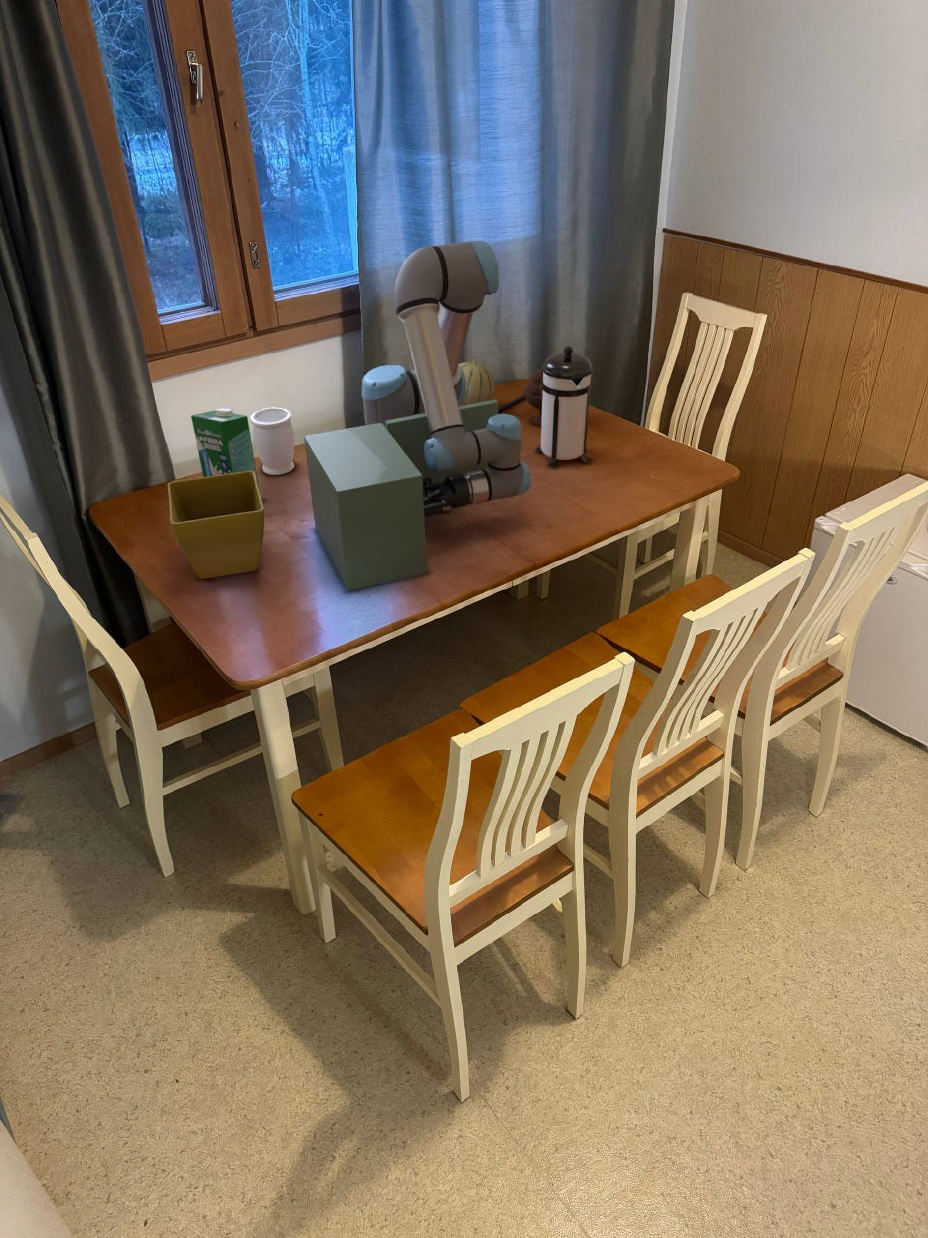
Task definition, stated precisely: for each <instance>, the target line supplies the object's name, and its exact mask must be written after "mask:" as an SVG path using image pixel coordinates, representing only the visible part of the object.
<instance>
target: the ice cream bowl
mask: <svg viewBox="0 0 928 1238" xmlns="http://www.w3.org/2000/svg"><path fill="white" fill-rule="evenodd" d="M542 380H543V371H542V368H540V369H537V370H535V371H534V372H533V373H532V375H531V377H530V381H529V383H527V385H526V386H525V388H524V389H523V390H522V391H523V395H524V396H525V398H524V399H525V400H526V402H527V403H528V404H529V405H530V406H531V407H532V408H534V409H536V410H538V416H535V417H534V418H533V419H532V420H531V421H532V423H533V425H535V426H539V427H541V423H542V396H543V389H542Z"/></svg>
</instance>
